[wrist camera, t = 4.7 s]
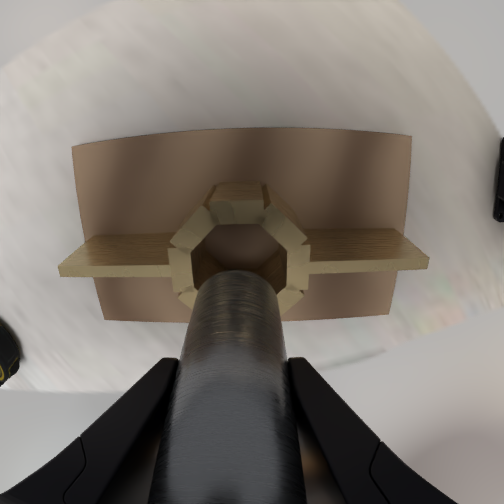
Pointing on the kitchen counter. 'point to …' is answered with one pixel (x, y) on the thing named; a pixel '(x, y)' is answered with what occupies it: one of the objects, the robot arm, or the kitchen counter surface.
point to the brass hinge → (272, 270)
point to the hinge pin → (231, 403)
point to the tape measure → (7, 356)
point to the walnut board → (244, 235)
